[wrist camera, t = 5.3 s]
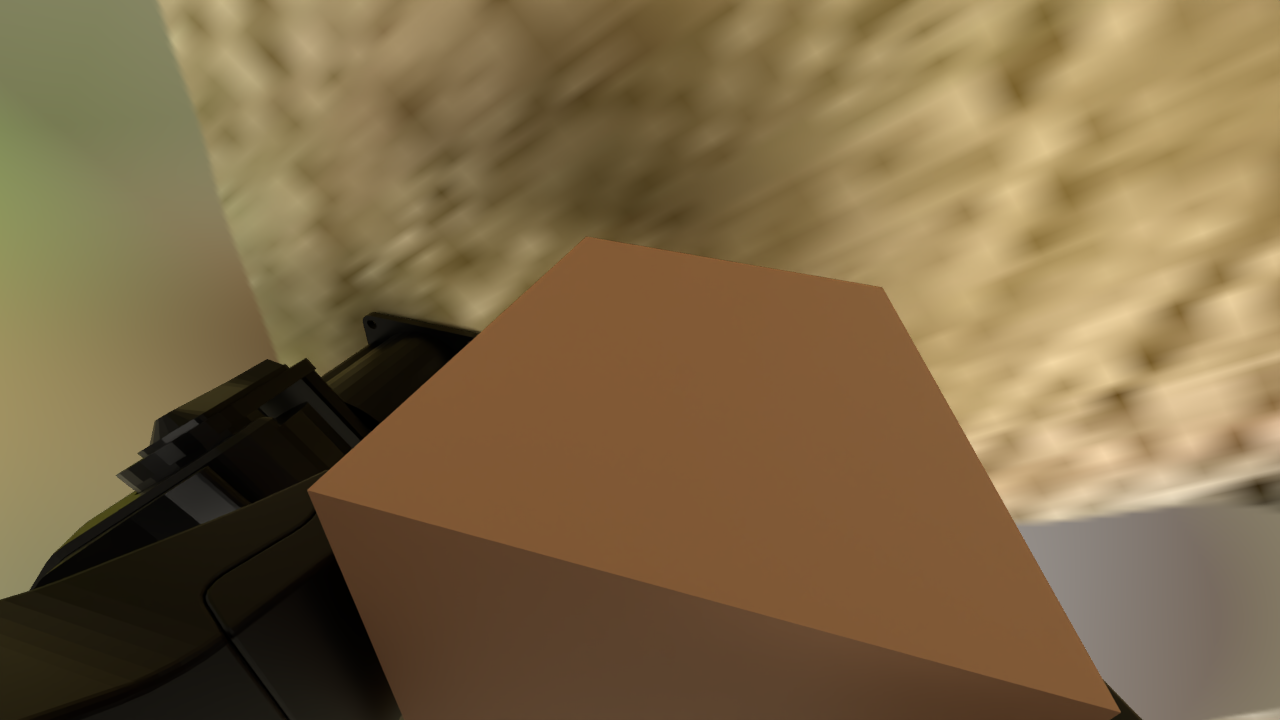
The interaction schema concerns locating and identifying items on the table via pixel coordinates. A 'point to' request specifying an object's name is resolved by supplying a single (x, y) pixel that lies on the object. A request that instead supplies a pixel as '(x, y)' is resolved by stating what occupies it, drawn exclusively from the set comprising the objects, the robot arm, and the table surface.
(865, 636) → the terracotta block
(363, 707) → the robot arm
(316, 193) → the table surface
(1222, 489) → the table surface
